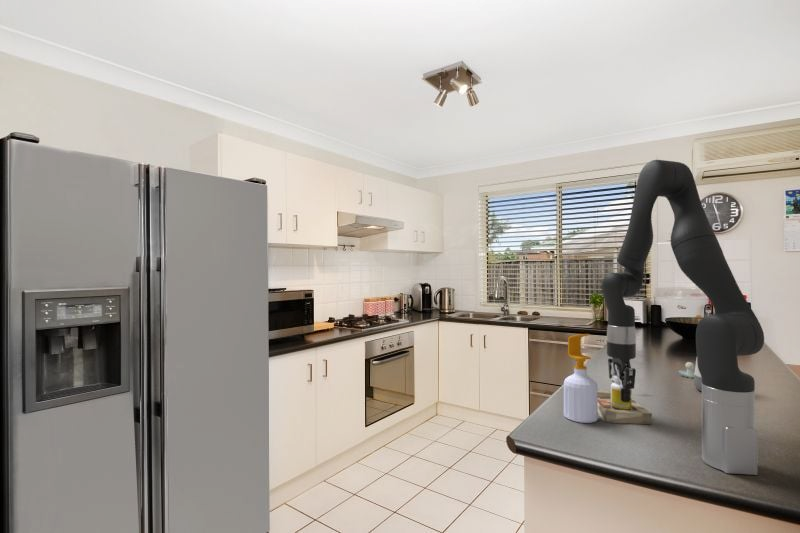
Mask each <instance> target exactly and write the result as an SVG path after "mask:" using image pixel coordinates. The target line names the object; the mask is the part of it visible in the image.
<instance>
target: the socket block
mask: <svg viewBox="0 0 800 533" xmlns="http://www.w3.org/2000/svg"><path fill="white" fill-rule="evenodd" d="M598 415H599V416H600V418H602V419H603V420H604V422H606V423H610V424H611V423H614V424H637V425H638V424H639V425H641V424H643V425H652V424H653V413H652V412H650V411H649V410H648V409H646V408H645V407H644V406H643V405H640V404H639V403H638V402H637V401H635V400H633V398H631V410H613V409H612V408H611V390H598Z"/></svg>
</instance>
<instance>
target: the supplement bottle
mask: <svg viewBox="0 0 800 533" xmlns="http://www.w3.org/2000/svg"><path fill="white" fill-rule="evenodd" d="M623 383H624V381H623ZM610 391H611V408H612V409H613V410H631V399H632V389H630V402H622V401H621V385H620V381H619V380H618V377H617V375H615V376H614V383H613V382H612V383H611V384H610Z"/></svg>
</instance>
